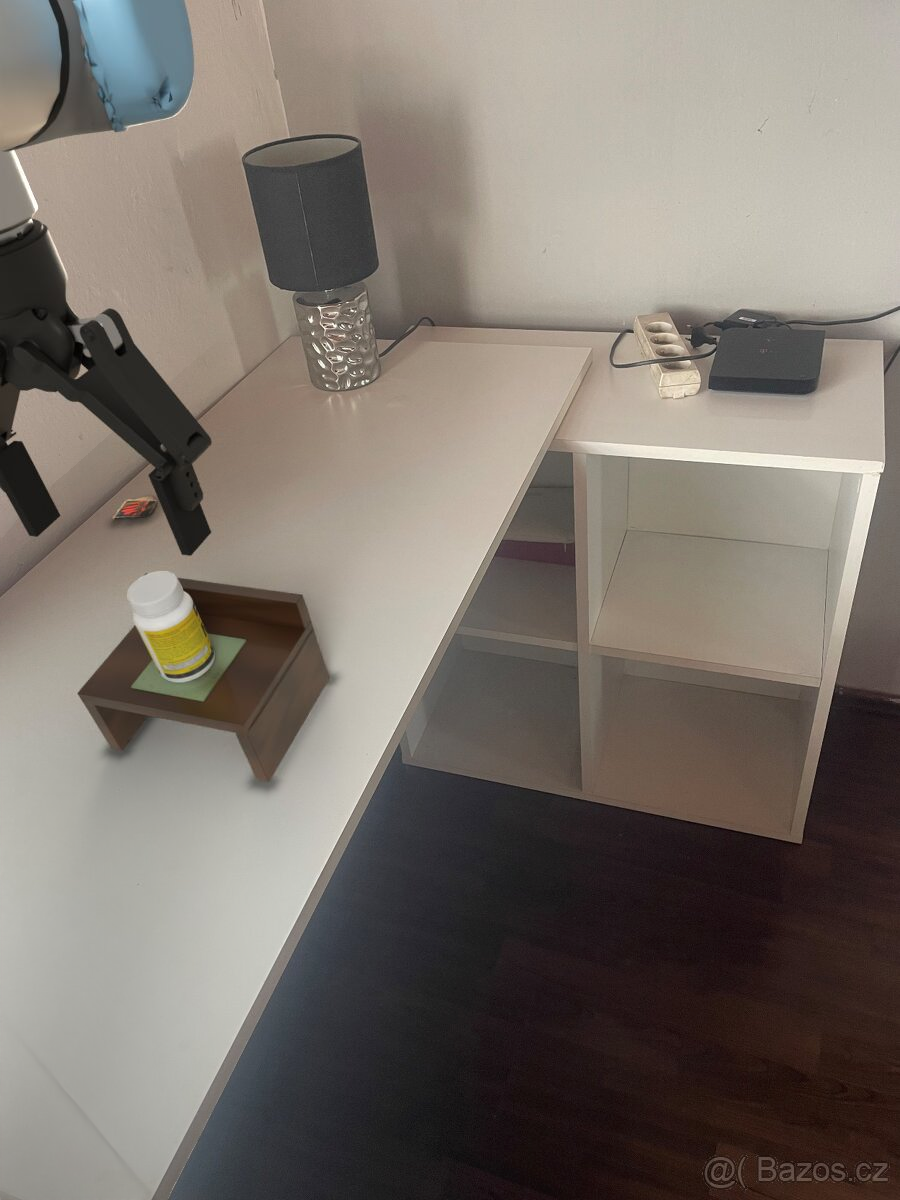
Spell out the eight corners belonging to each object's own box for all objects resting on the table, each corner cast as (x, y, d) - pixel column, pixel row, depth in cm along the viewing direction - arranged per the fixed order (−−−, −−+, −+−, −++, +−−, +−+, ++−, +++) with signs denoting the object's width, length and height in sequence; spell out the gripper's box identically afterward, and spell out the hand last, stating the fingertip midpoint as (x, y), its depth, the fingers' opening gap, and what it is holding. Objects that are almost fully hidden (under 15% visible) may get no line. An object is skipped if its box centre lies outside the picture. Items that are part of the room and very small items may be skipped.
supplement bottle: (228, 656, 72) (195, 579, 66) (183, 692, 69) (145, 615, 64) (192, 636, 74) (158, 560, 69) (148, 670, 72) (109, 594, 66)
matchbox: (153, 516, 103) (152, 513, 103) (111, 524, 103) (109, 521, 103) (159, 495, 107) (157, 491, 106) (118, 502, 107) (116, 499, 106)
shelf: (268, 782, 71) (231, 699, 64) (110, 748, 76) (61, 667, 69) (330, 677, 79) (302, 593, 72) (183, 653, 84) (145, 573, 78)
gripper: (195, 205, 47) (292, 519, 61) (-129, 217, 56) (20, 491, 69) (113, 256, 42) (239, 587, 56) (-230, 261, 51) (-47, 548, 64)
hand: (118, 534), depth 63 cm, fingers open, 13 cm apart
